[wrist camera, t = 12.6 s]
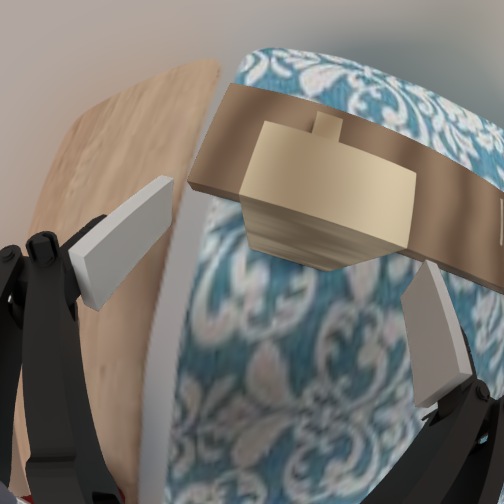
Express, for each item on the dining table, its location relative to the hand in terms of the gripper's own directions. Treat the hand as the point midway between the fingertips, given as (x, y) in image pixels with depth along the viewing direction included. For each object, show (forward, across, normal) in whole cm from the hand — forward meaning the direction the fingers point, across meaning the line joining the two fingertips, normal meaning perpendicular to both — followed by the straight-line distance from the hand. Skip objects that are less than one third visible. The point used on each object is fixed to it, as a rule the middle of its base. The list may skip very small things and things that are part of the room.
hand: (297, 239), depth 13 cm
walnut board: (+12, +8, 0) cm, 14 cm away
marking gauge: (+9, 0, -1) cm, 9 cm away
